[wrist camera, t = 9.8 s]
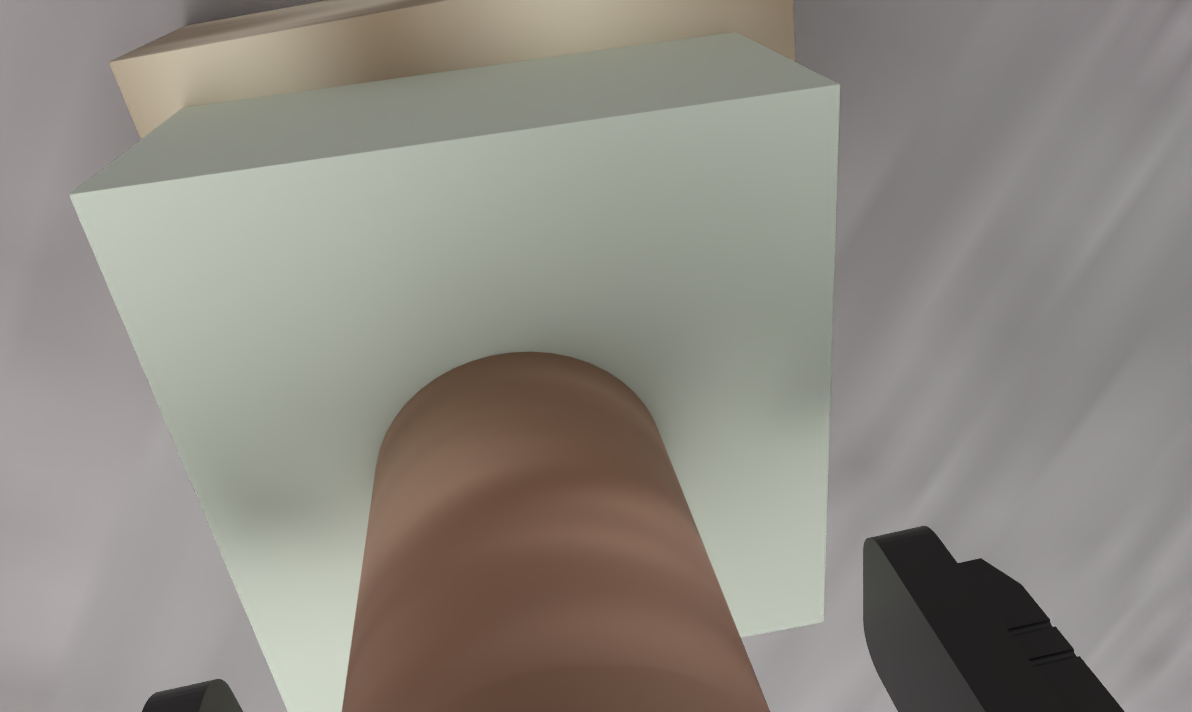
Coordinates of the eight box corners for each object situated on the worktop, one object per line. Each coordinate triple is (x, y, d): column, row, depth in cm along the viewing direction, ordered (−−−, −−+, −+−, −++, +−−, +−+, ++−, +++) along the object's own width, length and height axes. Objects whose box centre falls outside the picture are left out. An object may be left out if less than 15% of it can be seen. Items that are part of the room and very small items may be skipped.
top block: (735, 31, 16) (840, 84, 11) (746, 467, 21) (823, 622, 16) (182, 107, 15) (69, 194, 11) (328, 541, 20) (292, 721, 16)
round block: (643, 321, 13) (777, 612, 7) (680, 555, 15) (804, 908, 10) (335, 389, 12) (250, 739, 7) (419, 616, 15) (400, 1012, 9)
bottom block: (717, -72, 19) (790, -62, 15) (750, 374, 25) (810, 474, 21) (189, 23, 19) (108, 62, 15) (349, 458, 25) (324, 578, 20)
